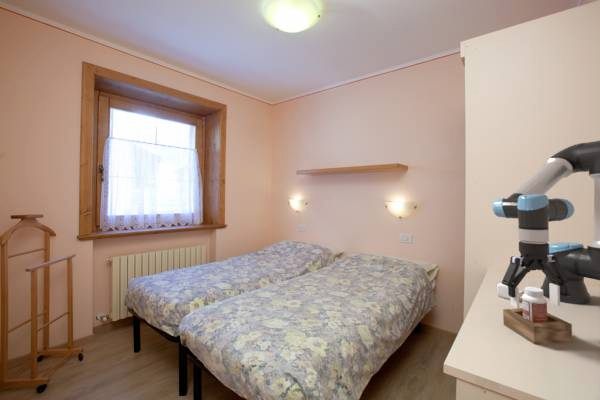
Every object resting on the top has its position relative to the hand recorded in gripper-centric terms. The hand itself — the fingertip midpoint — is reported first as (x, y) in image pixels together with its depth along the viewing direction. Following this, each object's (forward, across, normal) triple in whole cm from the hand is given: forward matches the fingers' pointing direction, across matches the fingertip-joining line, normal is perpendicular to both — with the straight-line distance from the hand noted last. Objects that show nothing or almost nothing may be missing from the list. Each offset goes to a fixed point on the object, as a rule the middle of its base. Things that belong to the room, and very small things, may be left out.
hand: (534, 305), depth 88 cm
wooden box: (+9, 0, 0) cm, 9 cm away
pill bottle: (+6, 0, 0) cm, 6 cm away
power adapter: (+9, -14, -25) cm, 30 cm away
